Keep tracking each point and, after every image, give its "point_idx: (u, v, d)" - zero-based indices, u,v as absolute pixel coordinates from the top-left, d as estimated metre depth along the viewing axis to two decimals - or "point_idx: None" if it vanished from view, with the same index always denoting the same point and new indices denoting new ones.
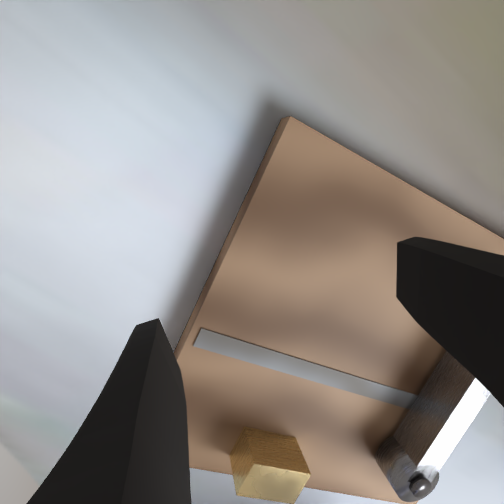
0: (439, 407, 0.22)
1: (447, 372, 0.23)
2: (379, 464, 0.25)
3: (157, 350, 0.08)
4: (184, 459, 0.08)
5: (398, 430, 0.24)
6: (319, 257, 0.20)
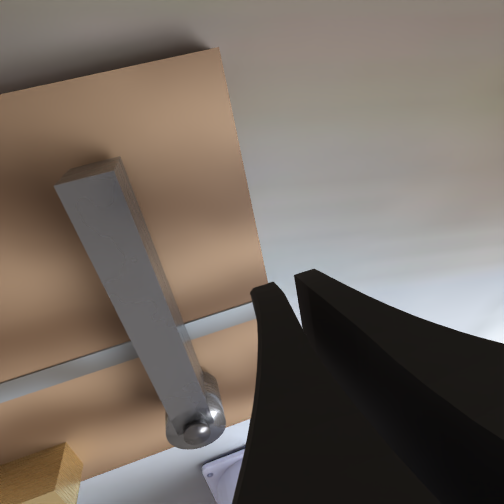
0: None
1: None
2: None
3: None
4: None
5: None
6: None
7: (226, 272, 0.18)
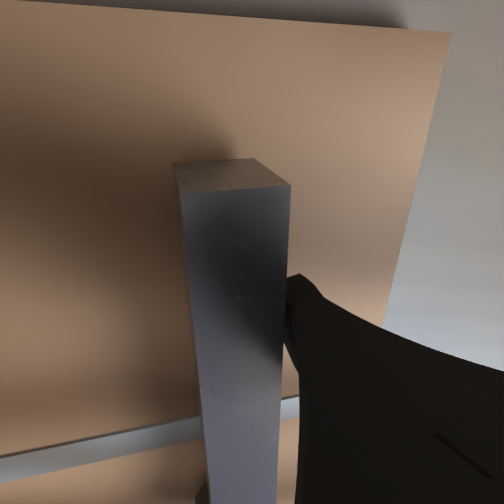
0: None
1: (197, 389, 0.10)
2: None
3: None
4: None
5: (206, 477, 0.13)
6: None
7: None
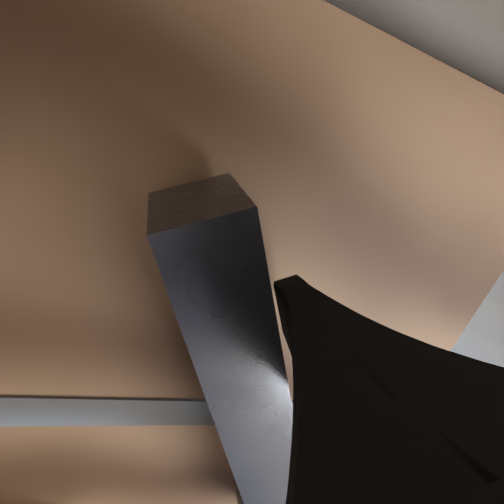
0: None
1: None
2: None
3: None
4: None
5: None
6: None
7: None
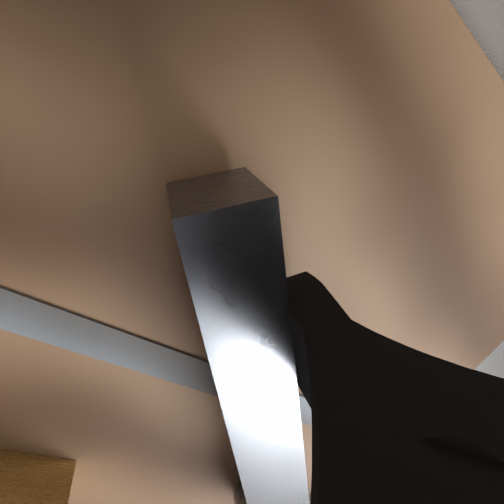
0: None
1: None
2: None
3: None
4: None
5: None
6: (114, 54, 0.07)
7: None
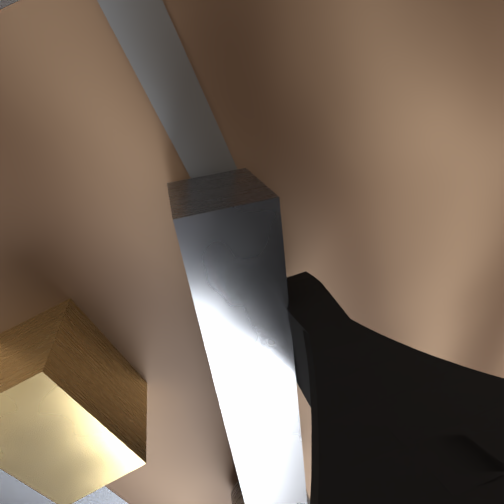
0: None
1: None
2: None
3: None
4: None
5: None
6: (445, 77, 0.10)
7: None
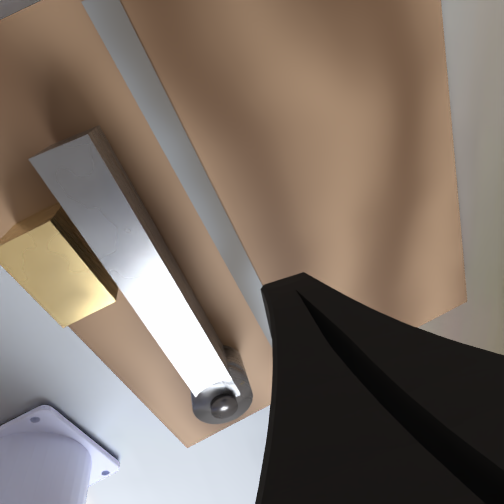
0: None
1: None
2: None
3: None
4: None
5: None
6: (315, 52, 0.14)
7: None
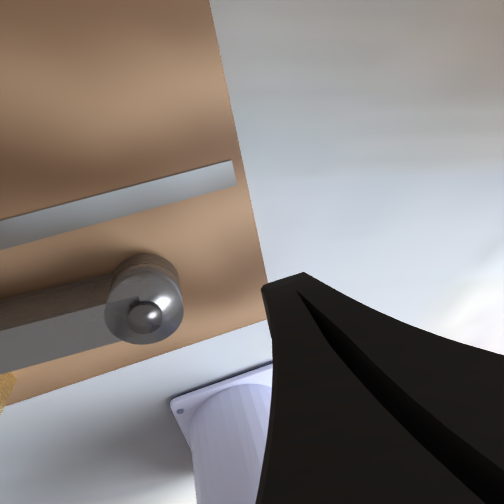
0: None
1: None
2: None
3: None
4: None
5: None
6: None
7: (182, 114, 0.14)
